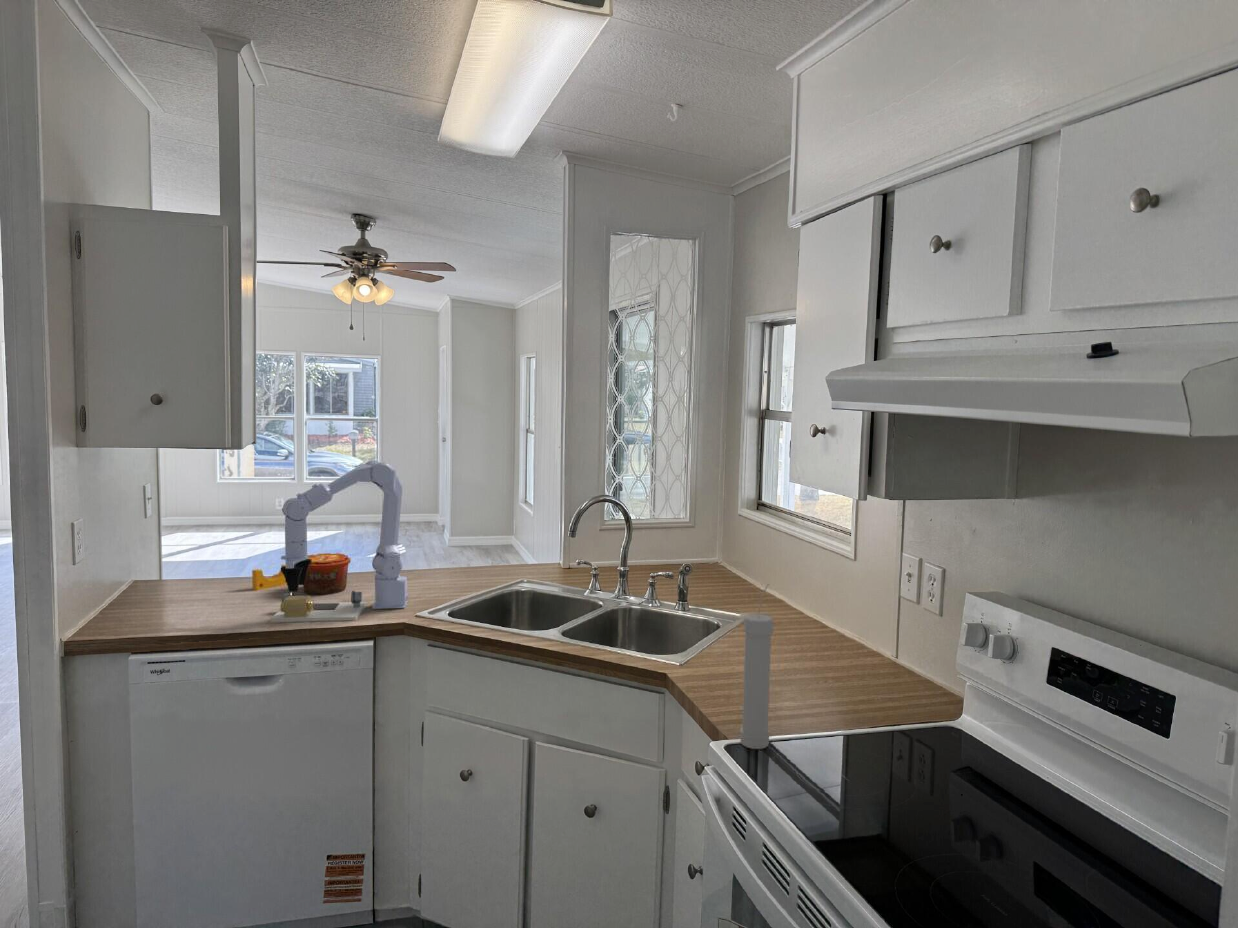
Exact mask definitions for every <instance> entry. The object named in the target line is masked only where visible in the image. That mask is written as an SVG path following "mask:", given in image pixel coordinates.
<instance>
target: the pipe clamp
mask: <svg viewBox="0 0 1238 928" xmlns="http://www.w3.org/2000/svg"><path fill="white" fill-rule="evenodd" d="M280 566H281V567H283V566H286V563H285V564H280ZM281 567H280V568H281ZM251 573H252V574H251V578H252V590H254V591H260V590H261V591H262V590H266V589H271V588H276V587H280V586H281V587H282V586H285V585H287V582H286V579H285V577H284V575H283V573H282V572H281V569H280V570H279V572H278V573H275V574H273V575H272V576H270V577H268V578H267V577H265V576H264V574H263V570H262V569H259V568H257V569H252V570H251Z"/></svg>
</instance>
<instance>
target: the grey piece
mask: <svg viewBox="0 0 1238 928" xmlns="http://www.w3.org/2000/svg"><path fill="white" fill-rule="evenodd" d="M769 585H770V584H769V583H767V585H766V586H765V588H764V590H763V593H762V595H761V598H760V601H759V607H758V614H756V613H753V614H748V615H745V616H744V619H743V629H742V630H743V632H744V633H745V635H744V636H745V637H744V638H745V639H744V641H745V642H744V666H743V667H744V668H743V695H742V698H743V699H742V726H741V727H740V729H739V731H740V743H741V744H742V746H744V747H746V748H748V749H752V750H762V749H765V748H767V747H768V746H769V744H770V742H769V741H770V736H771V732H770V729H769V703H770V702H769V700H770V676H771V673H770V672H771V644H772V635H773V633H774V628H773V627H774V621H773V620H774V619H773V618H772V617H771V616H770V615H765V614H760V611H761V606H762V601H763V597H764V595H765V593H766V590H767V588H768V587H769Z"/></svg>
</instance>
